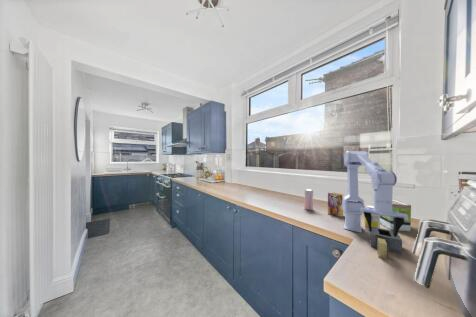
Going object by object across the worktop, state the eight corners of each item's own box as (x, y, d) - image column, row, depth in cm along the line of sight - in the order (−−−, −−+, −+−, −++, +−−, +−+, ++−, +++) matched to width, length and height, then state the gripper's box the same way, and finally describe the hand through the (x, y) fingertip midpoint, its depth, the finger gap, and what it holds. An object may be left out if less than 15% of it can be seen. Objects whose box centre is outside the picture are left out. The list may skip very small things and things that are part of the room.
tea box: (411, 231, 91) (412, 205, 90) (390, 230, 93) (390, 203, 92) (391, 221, 105) (392, 198, 105) (373, 220, 107) (374, 197, 107)
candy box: (343, 215, 115) (343, 193, 115) (341, 217, 112) (342, 194, 111) (329, 212, 121) (329, 191, 121) (327, 213, 118) (327, 192, 118)
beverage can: (305, 207, 132) (306, 188, 132) (313, 209, 129) (314, 189, 128) (303, 209, 128) (303, 189, 128) (311, 210, 124) (311, 191, 124)
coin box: (369, 238, 83) (369, 226, 83) (396, 244, 78) (396, 231, 77) (371, 246, 75) (371, 233, 75) (401, 254, 69) (402, 240, 69)
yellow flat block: (377, 251, 72) (377, 237, 71) (384, 253, 70) (385, 239, 70) (378, 257, 67) (378, 242, 67) (386, 259, 66) (387, 244, 66)
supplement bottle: (369, 226, 97) (369, 204, 97) (382, 231, 91) (383, 207, 91) (361, 227, 95) (362, 205, 95) (374, 233, 89) (375, 209, 89)
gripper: (361, 199, 69) (360, 232, 69) (410, 205, 61) (409, 242, 61) (360, 196, 75) (360, 226, 75) (405, 201, 67) (404, 235, 67)
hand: (382, 233), depth 69 cm, fingers open, 7 cm apart
